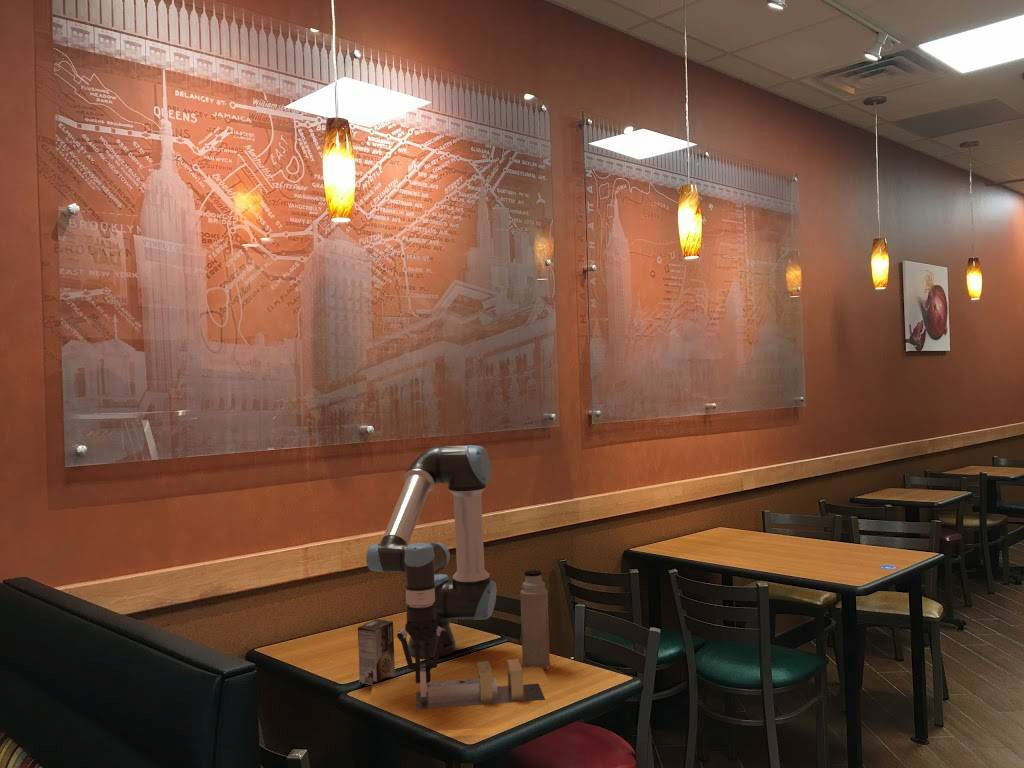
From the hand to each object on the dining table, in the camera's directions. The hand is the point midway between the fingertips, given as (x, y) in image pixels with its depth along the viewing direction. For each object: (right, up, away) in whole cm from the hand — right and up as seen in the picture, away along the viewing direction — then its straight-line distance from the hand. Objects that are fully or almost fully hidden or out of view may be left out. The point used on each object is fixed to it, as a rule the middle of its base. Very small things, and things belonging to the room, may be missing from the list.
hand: (423, 694), depth 217 cm
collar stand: (+15, -2, +2) cm, 15 cm away
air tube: (+10, -1, +1) cm, 10 cm away
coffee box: (-15, -4, +20) cm, 26 cm away
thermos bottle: (+30, -2, +28) cm, 41 cm away
